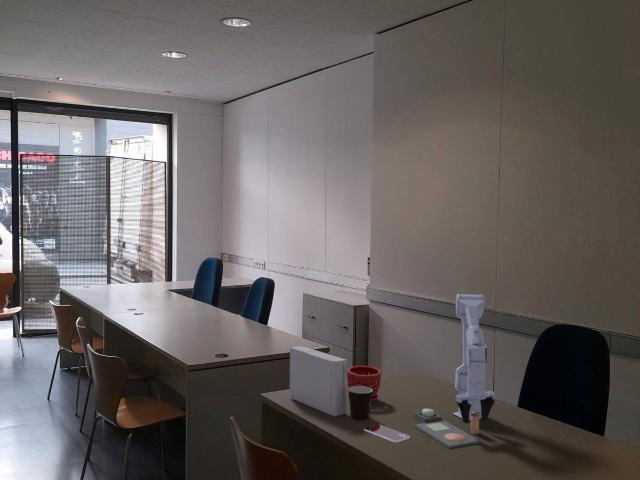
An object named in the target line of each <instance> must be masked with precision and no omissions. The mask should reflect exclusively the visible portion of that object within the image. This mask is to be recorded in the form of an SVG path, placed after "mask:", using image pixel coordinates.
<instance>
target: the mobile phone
mask: <svg viewBox="0 0 640 480" xmlns="http://www.w3.org/2000/svg"><path fill="white" fill-rule="evenodd" d="M363 430H364V431H365V432H367V433H369V434H372V435H375V436H377V437H381V438H382V439H385V440H388V441H389V442H392V443H400V442H402V441H403V442H404V441H406V440H408V439H410V438H411V436H410V435H409V434H406V433H403V432H400V431H398V430H396V429H393V428H390V427H388V426H385V425H382V424H378V423H376V424H373V425H370V426H367V427H364V429H363Z"/></svg>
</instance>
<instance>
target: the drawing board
mask: <svg viewBox="0 0 640 480" xmlns="http://www.w3.org/2000/svg"><path fill="white" fill-rule="evenodd" d="M414 427H415V428H416V429H417V430H419V431H420V432H422V433H424V434H426V435H427V436H429V437H430V438H431V439H433V440H435V441H436V442H438V443H440V444H442V445H443V446H444V447H446V448H447V449H453V448H458V447H464V446H465V447H466V446H470V445H475V444H480V443H481V440H480V439H479V438H477V437H474V435H471V434H470V433H468V432H465V431H464V430H462V429H461V428H458V427H457V426H455V425H453V424H452V423H449V422H448V421H446V420H443V419H442V421H435V422H428V423H421V422H420V423H418V424H417V423H416V424H414Z"/></svg>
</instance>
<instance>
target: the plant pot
mask: <svg viewBox="0 0 640 480" xmlns="http://www.w3.org/2000/svg"><path fill="white" fill-rule="evenodd" d="M363 373H364V374H363ZM381 381H382V371H381V370H380V369H378V368H376V367H373V366H369V365H356V366H351V367H349V368H347V382H346V385H347V387H348V389H349V388H350V387H354V386H364V387H369V388H371V389H372V390H373V391H372V398H371V404H372V403H375V402H376V401H377V400H378V398H379V395H378V392H379V389H380V386H381ZM347 396H348V398H349V392H348V394H347Z"/></svg>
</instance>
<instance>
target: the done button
mask: <svg viewBox="0 0 640 480" xmlns="http://www.w3.org/2000/svg"><path fill="white" fill-rule="evenodd" d="M434 411H435V410H434V409H432V408H423V409H421V412H422V416H424V417H425V418H427V417H434Z"/></svg>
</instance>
